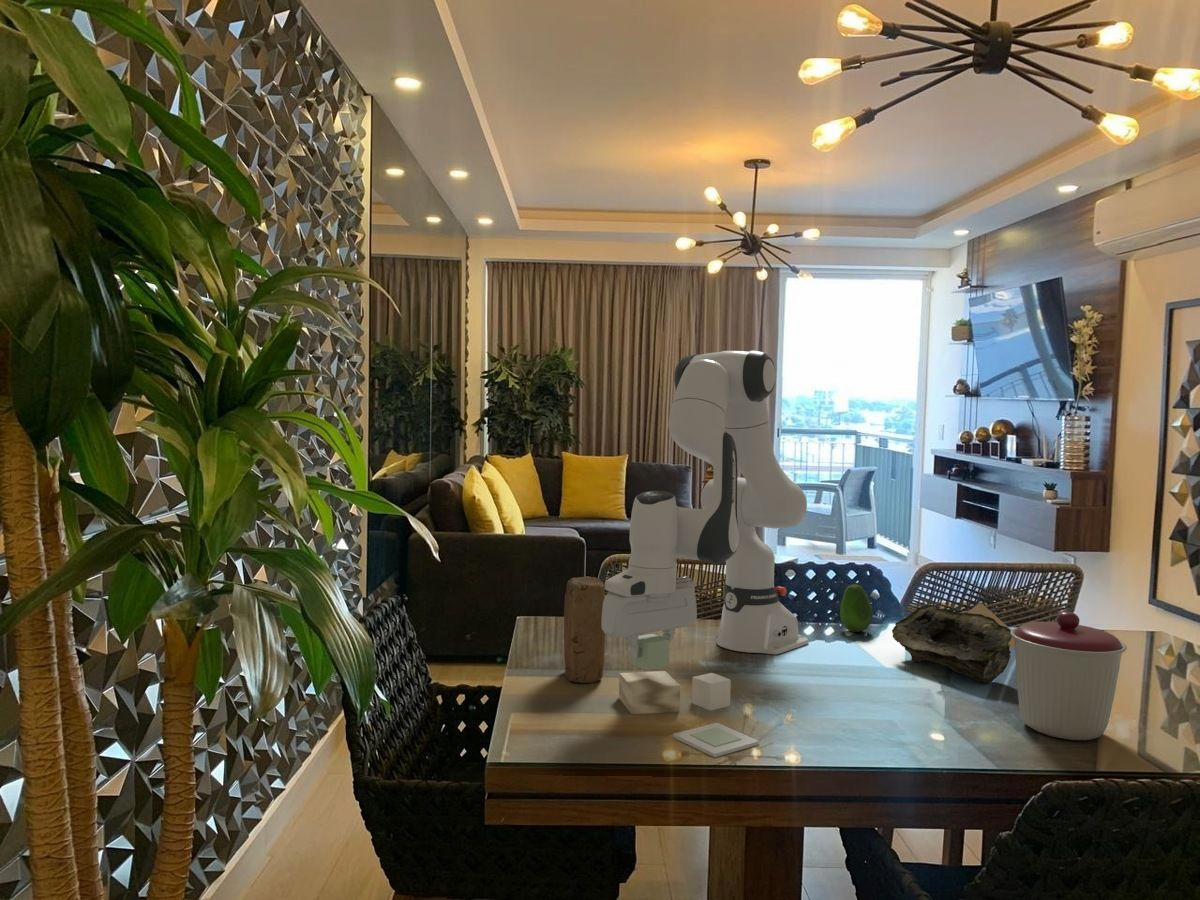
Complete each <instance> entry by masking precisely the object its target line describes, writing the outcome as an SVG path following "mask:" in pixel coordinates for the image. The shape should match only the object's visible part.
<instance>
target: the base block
mask: <svg viewBox="0 0 1200 900" xmlns="http://www.w3.org/2000/svg"><path fill="white" fill-rule="evenodd" d="M618 699H619V701H620V702H622V704H623V705H624V707H626V709H627V711H629V713H630V714H631V715H639V714H658V713H677V712H680V702H681V685H680V684H679V683H678V682H677V681H676V680H675V679H674V678H673V677H672V676H671V675H670V674H669V673H668V672H667V671H665V670H661V671H659V670H658V671H657V670H656V671H637V672H636V671H635V672H619V682H618Z"/></svg>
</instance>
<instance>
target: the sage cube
mask: <svg viewBox="0 0 1200 900" xmlns="http://www.w3.org/2000/svg"><path fill="white" fill-rule="evenodd" d="M636 642H637V645H638V647H641V648H642V657H639V658H633V657H631V656H630V665H633V666H635V667H637V668H640V669H643V670H645V671H646V672H649V671H652V670H658V669H663V668H668V667H669V666H670V665H669V664H670V644H671V642H670V640H669V639H666V638H663V636H660V635H657V634H654V633H646V634H643V635H641V634H639V635H638V640H636Z"/></svg>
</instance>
